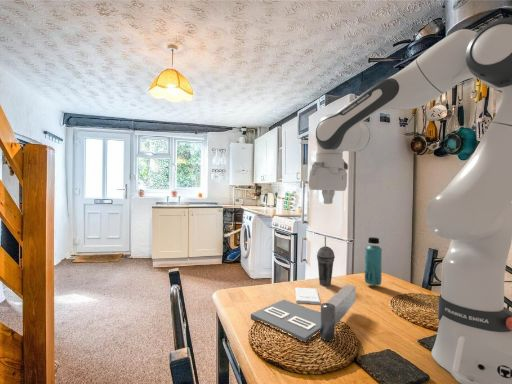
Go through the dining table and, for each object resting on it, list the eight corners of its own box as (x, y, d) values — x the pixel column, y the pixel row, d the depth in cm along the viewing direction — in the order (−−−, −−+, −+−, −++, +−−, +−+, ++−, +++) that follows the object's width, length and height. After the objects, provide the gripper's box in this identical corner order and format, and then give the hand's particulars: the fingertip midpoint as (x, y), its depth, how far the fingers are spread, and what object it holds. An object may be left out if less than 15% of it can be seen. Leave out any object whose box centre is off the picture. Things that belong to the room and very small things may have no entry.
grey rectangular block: (331, 342, 69) (332, 310, 69) (318, 338, 71) (318, 306, 71) (356, 310, 88) (356, 285, 88) (344, 307, 90) (345, 282, 90)
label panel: (335, 321, 81) (335, 316, 81) (304, 342, 69) (304, 336, 69) (283, 302, 94) (283, 298, 94) (250, 317, 82) (250, 312, 82)
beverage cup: (336, 283, 115) (337, 235, 115) (331, 288, 109) (332, 238, 109) (319, 280, 119) (320, 234, 119) (313, 284, 113) (314, 236, 113)
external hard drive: (316, 292, 105) (320, 306, 93) (295, 291, 106) (296, 304, 94) (316, 288, 105) (320, 301, 93) (295, 287, 106) (296, 299, 94)
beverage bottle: (382, 285, 113) (383, 237, 113) (380, 290, 108) (381, 239, 108) (365, 282, 117) (366, 235, 117) (362, 287, 111) (363, 237, 111)
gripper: (321, 160, 85) (320, 204, 85) (350, 165, 100) (349, 203, 100) (304, 161, 89) (303, 203, 89) (334, 166, 104) (333, 203, 104)
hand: (328, 203), depth 95 cm, fingers closed
